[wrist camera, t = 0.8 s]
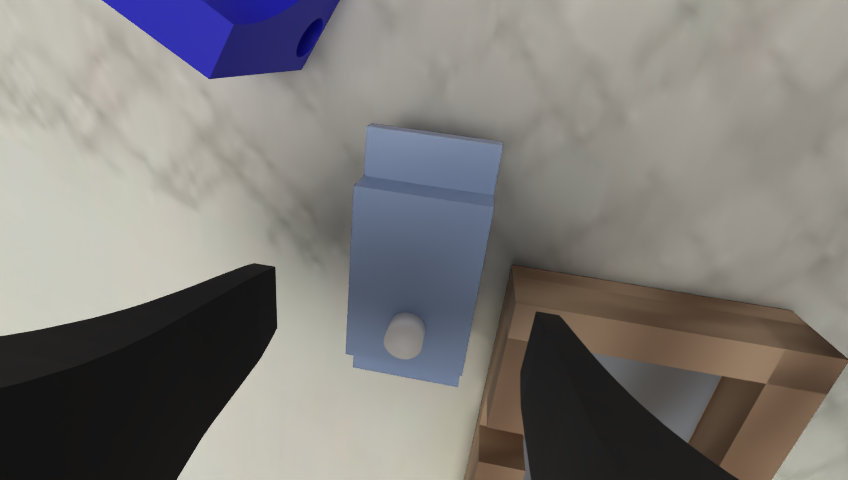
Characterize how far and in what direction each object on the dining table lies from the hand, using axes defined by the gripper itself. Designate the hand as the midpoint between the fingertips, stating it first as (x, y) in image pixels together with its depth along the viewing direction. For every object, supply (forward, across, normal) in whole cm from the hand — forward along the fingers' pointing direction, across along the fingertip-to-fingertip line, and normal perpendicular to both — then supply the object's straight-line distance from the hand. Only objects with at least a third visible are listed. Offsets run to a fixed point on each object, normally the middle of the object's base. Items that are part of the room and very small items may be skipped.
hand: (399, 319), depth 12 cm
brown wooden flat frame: (+7, -9, +8) cm, 14 cm away
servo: (+7, 0, 0) cm, 7 cm away
